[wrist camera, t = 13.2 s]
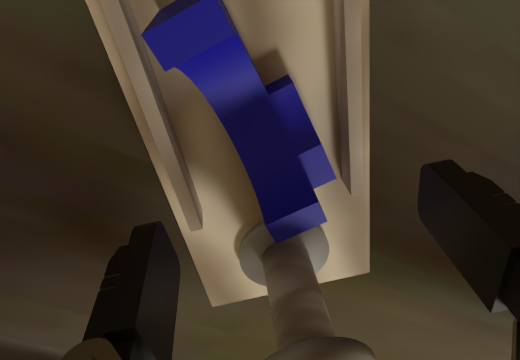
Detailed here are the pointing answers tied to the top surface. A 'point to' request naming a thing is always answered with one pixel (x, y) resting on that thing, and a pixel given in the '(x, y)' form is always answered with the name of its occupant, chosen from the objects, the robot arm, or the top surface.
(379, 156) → the top surface
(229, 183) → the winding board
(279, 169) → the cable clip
